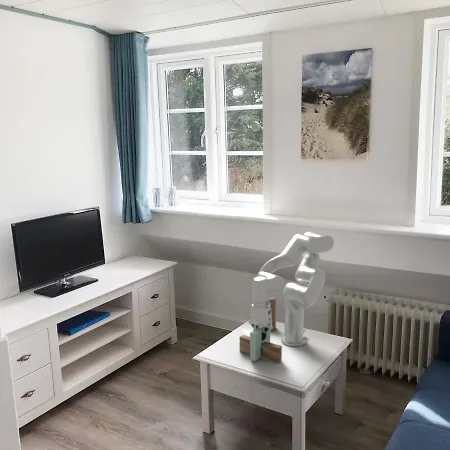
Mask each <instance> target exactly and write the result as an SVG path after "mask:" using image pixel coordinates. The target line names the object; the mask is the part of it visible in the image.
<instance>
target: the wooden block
mask: <svg viewBox="0 0 450 450" xmlns="http://www.w3.org/2000/svg"><path fill="white" fill-rule="evenodd" d="M269 302H270V303H271V305H269V306H270V307H271V313H272V326H273V329H271V330H270V331H276V329H277V322H276V316H277V313H276V311H277V306H276V305H277V298H276V297H274V296H273V297H269Z"/></svg>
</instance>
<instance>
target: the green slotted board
mask: <svg viewBox="0 0 450 450" xmlns="http://www.w3.org/2000/svg"><path fill="white" fill-rule="evenodd" d="M268 327H269V326H268ZM262 332H263V330H262V326H259V327H257V328H256V329H255V330H254V329H253V330H252V331H250V332H249V337H250V355H249V360H250V361H253V362H256V361H258V360H260V359H261V358H260V357H261V349H262V343H264V342H265V341H266V342H270V343H271V330H268V331H267V332H266V339H265V340H262Z"/></svg>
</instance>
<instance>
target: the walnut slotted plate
mask: <svg viewBox="0 0 450 450" xmlns="http://www.w3.org/2000/svg"><path fill="white" fill-rule="evenodd" d="M282 348H283V346H282V345H280V344H278V343H277V344H276V343H274V342H273V343H272V342H271V341H270V342H266V341H265V342H264V343H262V349H261V357H260V358H259V359H261V360H265V361H268V362H271V363H274V364H277V365H279V364H280V363H282V358H283V357H282V355H283V352H282V351H283V350H282ZM239 353H243V354H245V355H249V356H250V335H249V336H248V335H245V334H241V335H240V336H239Z"/></svg>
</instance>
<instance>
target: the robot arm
mask: <svg viewBox="0 0 450 450" xmlns="http://www.w3.org/2000/svg"><path fill="white" fill-rule="evenodd" d="M334 244H335V241H334V237H332V236H331V235H329V234H325V233H320V232H316V231H307V232H305V233H304V234H302V233H297V234H295V235H293V237H292V239H291V240H290V241H289V243H288V244H287V245H286V247H285V248H284V249H283V251H282V252H281V253H280V254H279V255H276V256H275V257H273V258H271V259H270V260H269V261H267V262H265V263H264V265H262V267H261V268H260V270H259V272H258V273H257V275H256V277H254V278H253V280H252V304H251V306H250V307H251V308H250V312H249V313H250V314H249V320H248V324H249V325H250V326H251V327H252V328H253V330H255V329H256V328H257V327H259V326H262V330H263V332H262V340H265V339H266V332H267V331H268V330H270V331H272V330H271V329H273V326H272V313H271V307H270V306H269V305H271V303H270V302H269V298H270V297H269V296H270V292H277V291H280V290H282V289H283V299H284V335H283V336H281V339H280V340H281V343H282V344H284V345H286V346H289V347H301V346H303V345H305V344H306V342H307V341H306V338H305V336H304V333H305V332H306V330H305V329H304V316H305V315H304V311H305V309H304V307H307V308H308V307H311V306H313V305H314V304H315V303H316V301H317V299H318V298H319V295H320V293H321V292H322V290H323V287H324V286H325V283H326V273H325V271H324V270H322V269H320V268H318V266H319V264H320V261H321V257H320V254H321V253H323V254H324V253H326V252H330V250H331V251H332V249H333V247H334ZM303 254H304V255H303ZM302 255H303V258H302V260H301V262H300V263H299V266H298V267H297V270H296V271H295V274H294V278H295V281H297V282H299V283H297V282H288V283H286V285H285V281H284V278H283V277H282V276H280V275H277V274H275V272H276V271H277V270H279V269H284V268H288V267H289V268H290V267H293V266H295V265H296V264H297V263H298V260H299V259H300V258H301V256H302ZM303 284H304V285H303ZM268 326H269V327H268Z"/></svg>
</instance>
